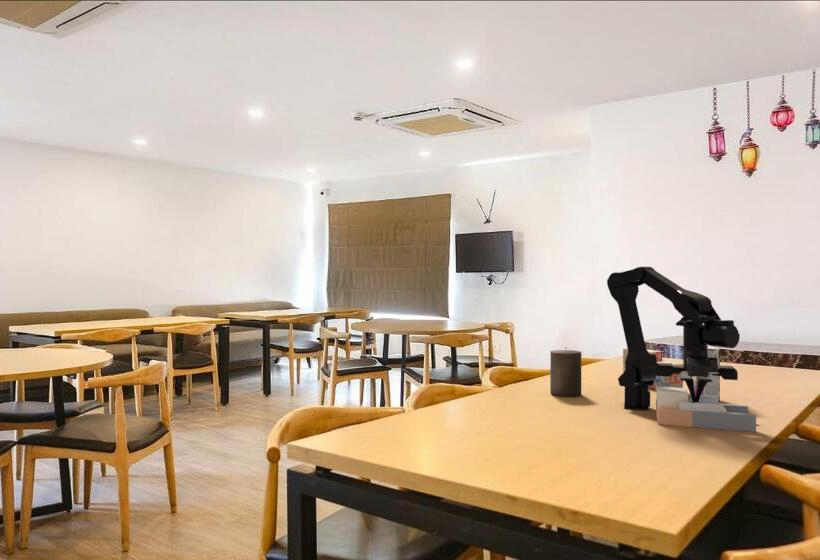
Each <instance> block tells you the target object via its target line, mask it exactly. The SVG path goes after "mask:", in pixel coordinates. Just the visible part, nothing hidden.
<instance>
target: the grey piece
mask: <svg viewBox="0 0 820 560" xmlns="http://www.w3.org/2000/svg"><path fill="white" fill-rule="evenodd" d="M722 404H723V405H724V413H717V412H703V411H689V410H679V408H670V407H658V405H657V398H656V399H655V416H656V417H655V418H656V422H657V425H661V424H662V425H666V426H676V427H687V428H700V429H701V428H702V429H710V430H711V429H713V430H727V431H737V432H753V433H756V432H757V415H756V414H754V413H749V406H748V405H745V404H743V405H742V404H731V403H730V404H729V403H722Z"/></svg>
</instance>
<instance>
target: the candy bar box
mask: <svg viewBox="0 0 820 560" xmlns="http://www.w3.org/2000/svg"><path fill="white" fill-rule="evenodd" d="M720 351H721V350H720V349H719V348H718V347H715V346H709V345H708V358H709V357H714V358H717V359H718V366H721V365H720V353H721V352H720ZM720 377H721V376H712V377H711V379H712V382H708V383H707V384H706V385H705V387H704V389H703V391H702V393H701V395H707V396H718V404H721V398H720V397H721V396H720V395H721V393H720V392H721V387H720V385H721V383H720V380H721V378H720ZM693 381H694V390H695V393H696V383H697V376H695V377H693Z"/></svg>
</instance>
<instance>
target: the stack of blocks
mask: <svg viewBox="0 0 820 560" xmlns="http://www.w3.org/2000/svg"><path fill="white" fill-rule="evenodd" d="M647 351H648V352H649V353H650V354H655V355H656V358H657V364H658V363H672V365H673V367H683V363H681V362H680V363H679V362H673V361H668V360H663V351H661V350H654V349H647ZM627 354H628V348H623V349H622V356H623V357H622V367H623V368H622V369H623V371H622V372H623V373H624V371H625V370H626V368H625V361H626V358H627ZM623 373H622V374H623ZM657 387H674V388H684V381H682V380H680V378H679V374H673V375H671V376H670V377H665V376H656V378H655V381H654V384H653V386H648V389H649V390H655V391H657Z"/></svg>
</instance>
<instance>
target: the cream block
mask: <svg viewBox="0 0 820 560" xmlns="http://www.w3.org/2000/svg"><path fill="white" fill-rule="evenodd" d="M688 394H689V393H688V391H687V389H686V388H685V387H683V388H674V387H657V390H656V399H657V405H658V407H670V408H679V401H687V402H688Z"/></svg>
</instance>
